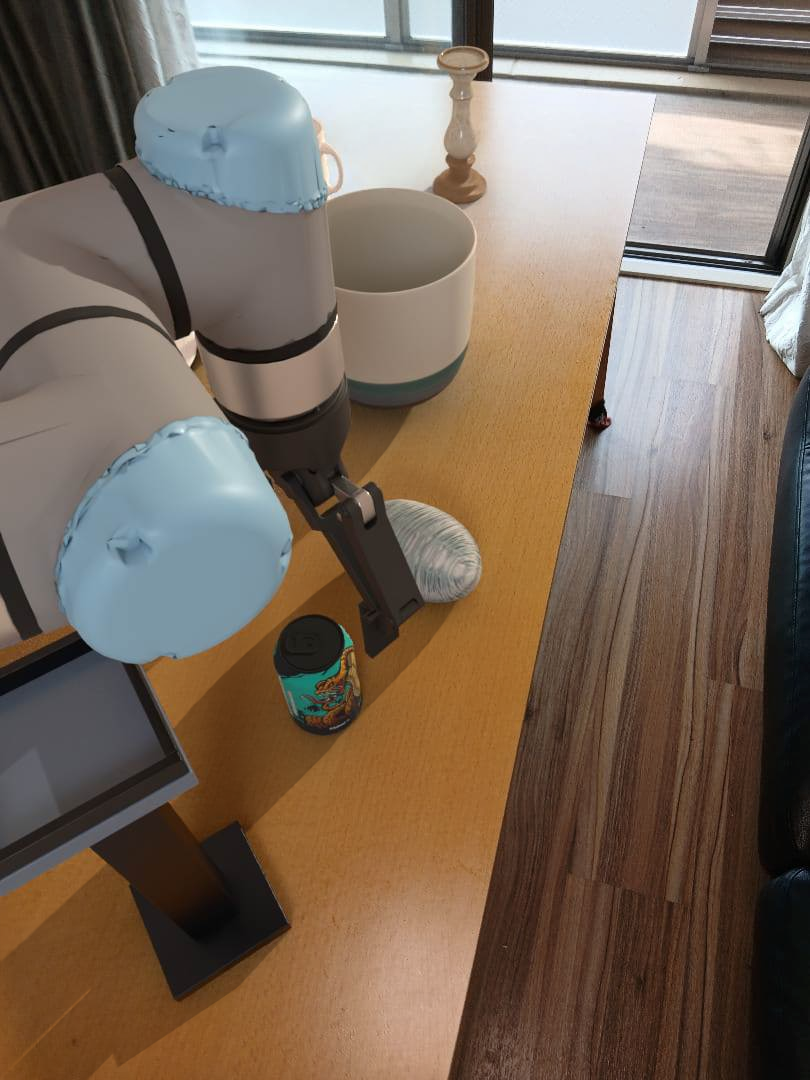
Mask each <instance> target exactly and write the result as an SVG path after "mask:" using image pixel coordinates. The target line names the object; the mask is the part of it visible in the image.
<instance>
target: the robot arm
mask: <svg viewBox="0 0 810 1080" xmlns="http://www.w3.org/2000/svg"><path fill="white" fill-rule="evenodd" d="M312 117H313V115H312V111H311V109H310V107H309V103H308V101H307V100H306V99H305V97H304V96H303V95H302V93H301V92H300V91H299V90H298V89H297V88H296V87H294V86H292V85H291V84H290V83H289V82H288V81H287V80H285V78H283V77H282V76H279V75H278V74H275V73H273V72H271V71H268V70H265V69H261V68H256V67H250V66H241V65H216V66H207V67H201V68H195V69H191V70H188V71H184V72H181V73H177V74H175V75H172V76H170V77H169V79H168V80H167V81H166V82H165V85H161V86H156V87H153V88H151V89H150V90H148V91H147V92H146V93H145V94H143V96H142V97H141V98H140V100H139V102H138V104H137V105H136V108H135V112H134V115H133V128H134V133H135V137H136V139H135V142H134V143H135V146H134V150H135V153H136V156H135V157H133V158H132V159H129V160H125V161H122V162H119V163H116V164H115V166H114V167H113V168H109V169H106V170H103V171H101V172H97V173H94V174H90V175H87V176H83V177H80V178H76V179H73V180H69V181H66V182H63V183H60V184H56V185H53V186H50V187H47V188H43V189H40V190H36V191H33V192H30V193H26V194H23V195H19V196H16V197H13V198H10V199H7V200H4V201H0V651H1V650H3V649H7V648H9V647H11V646H14V645H17V644H19V643H22V642H25V641H28V640H29V639H32V638H34V637H37V636H40V635H42V634H44V635H46V634H48V633H51V632H54V631H56V630H59V629H62V628H64V627H67V626H71V628H73V629H74V631H77V632H78V633H79V635H80V636H81V637H82V639H83V640H84V641H85V642H86V643H87V644H88V645H89V646H90V647H91V648H92V649H94V650H95V651H97V652H98V653H100V654H102V655H103V656H106V657H109V658H112V659H115V660H119V661H122V662H125V663H133V664H142V665H144V664H147V663H151V662H153V661H154V660H156V659H158V658H159V657H167V658H170V659H172V660H175V661H176V660H181V659H182V660H183V659H187V658H189V657H192V656H193V657H194V656H195V655H198V654H200V653H203V652H206V651H208V650H210V649H212V648H214V647H215V646H217V645H220V644H222V643H223V642H225V641H226V640H228V639H230V638H231V637H232V636H234V635H236V634H237V633H238V632H239V631H241V630H242V629H243V628H245V627H246V626H247V625H249V623H251V622H252V621H253V620H254V619H256V617H257V616H258V615H259V614H260V613H261V612H262V611H263V610H264V609H265V608H266V607H267V605H269V603H271V601H272V600H273V598H274V597H275V596H276V593H277V592H278V590H279V589H280V587H281V585H282V583H283V581H284V579H285V576H286V574H287V571H288V569H289V566H290V560H291V556H292V545H293V540H294V537H295V536H294V534H293V532H292V529H291V524H290V521H289V517H288V514H287V512H286V510H285V508H284V506H283V504H282V502H281V501H280V499H279V497H278V496H277V494H276V492H275V489H274V485H273V481H274V484H275V485H276V486H278V488H280V490H282V492H283V493H284V494H285V496H286V497H287V498H288V499H290V500H293V502H294V503H295V505H296V507H297V508H298V510H299V512H300V514H301V515H302V516H303V518H304V520H305V522H306V524H308V526H309V528H310V529H311V530H312V531H315V532H320V533H322V535H323V537H324V538H325V540H326V541H327V543H328V544H329V546H330V548H331V550H332V552H333V553H334V555H335V557H336V558H337V559H338V561H339V563H340V564H341V566H342V568H343V569H344V572H345V573H346V574H347V576H348V578H349V579H350V581H351V583H352V584H353V586H354V587H355V589H356V591H357V592H358V594H359V596H360V597H361V599H362V601H361V602H360V603H358V604H357V605H358V606H357V607H358V614H359V618H360V619H359V620H360V625H361V632H362V640H363V647H364V653H365V654H366V655H367V656H368V657H369V658H370V659H371V660H373V659H375V658H376V657H377V656H378V655H379V654H381V653H382V652H383V651H384V650H385V649H386V648H388V647H389V646H390V645H392V644H393V642H395V641H396V640H397V639H398V638H400V627H401V626H402V625H403V624H405V622H407V620H409V619H410V618H412V616H413V615H415V614H416V613H417V612H418V611H420V610H421V609H423V607H424V606H425V605H426V603H425V601H424V600H423V598H422V595H421V593H420V591H419V588H418V586H417V584H416V581H415V579H414V577H413V574H412V572H411V570H410V567H409V565H408V563H407V561H406V558H405V556H404V554H403V551H402V549H401V547H400V544H399V542H398V540H397V537H396V535H395V533H394V530H393V528H392V526H391V523H390V521H389V519H388V517H387V514H386V509H385V503H384V502H385V497H384V494H383V491H382V489H381V487H380V486H379V485H378V484H377V483H375V482H374V481H372V480H371V481H369V482H368V483H366V484H364V485H363V486H362V487H360V486H358V485H357V484H356V483H354V482H352V481H351V480H350V479H349V472H348V470H347V468H346V466H345V464H344V461H343V458H342V455H341V454H342V451H343V448H344V445H345V443H346V440H347V438H348V436H349V433H350V430H351V425H352V412H351V401H349V393H348V384H347V377H346V373H345V371H344V368H345V366H344V359H343V351H342V344H341V336H340V329H339V321H338V314H337V313H338V312H337V298H336V293H335V285H334V275H333V266H332V257H331V248H330V237H329V227H328V216H327V205H326V201H327V197H328V188H327V184H326V181H325V179H324V174H323V168H322V163H321V157H320V151H319V145H318V140H317V136H316V134H315V130H314V125H313V120H312ZM193 331H194V334H195V339H196V342H197V350H198V352H199V356H200V359H201V362H202V367H203V369H204V372H205V376H206V380H207V382H208V386H209V389H210V392H211V394H212V395H213V397H212V396H211V394H210V393H209V391H208V390H207V389H206V387H205V386H204V385H203V383H202V381H200V379H199V378H198V376H197V375H196V373H195V372H194V371H193V369H192V368H191V367H189V365H188V364H187V363H186V361H185V359H184V357H183V355H182V354H181V352H180V351H179V349H178V348H177V346H176V344H175V342H174V341H176V340H179V339H181V338H184V337H187V336H189V335H190V333H191V332H193ZM266 471H267V473H268V474H269V476H270V477H269V476H268V475H267V474H265V472H266ZM272 479H273V480H272ZM333 497H335V498H336V499H337V500H338V501H337V502H336V503H335V504H334V505H332V506H330V507H329V508H327V509H326V510H325V511H324V512H322V513H321V514H319V512H318V511H317V509H316V508H318V507H320V506H321V505H322V504H324V503H326V502H327V501H329V500H330V499H331V498H333Z"/></svg>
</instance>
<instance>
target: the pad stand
mask: <svg viewBox="0 0 810 1080" xmlns="http://www.w3.org/2000/svg"><path fill="white" fill-rule="evenodd" d="M199 784H200V782H199V779H198V777H197V775H196V773H195V771H194V768H193V767H192V764H191V763H190V761H189V759H188V757H187V755H186V753H185V751H184V748H183V746H182V744H181V742H180V740H179V738H178V736H177V734H176V732H175V729H174V728H173V726H172V724H171V722H170V719H169V717H168V715H167V714H166V711H165V710H164V707H163V705H162V703H161V701H160V699H159V697H158V695H157V693H156V691H155V689H154V687H153V685H152V682H151V681H150V678H149V676H148V674H147V672H146V670H145V668H144V666H143V664H133V663H125V662H122V661H119V660H115V659H112V658H109V657H106V656H103V655H102V654H100V653H98V652H97V651H95V650H94V649H92V648H91V647H90V646H89V645H88V644H87V643H86V642H85V641H84V640H83V639H82V637H81V636H80V635H79V633H78V632H77V630H74V631H73V632H70V633H68V634H66V635H64V636H62V637H60V638H59V639H56V640H54V641H52V642H50V643H48V644H46V645H44V646H42V647H40V648H38V649H36V650H34V651H32V652H30V653H27V654H26V655H24V656H22V657H19V658H18V659H16V660H13V661H12V662H10V663H7V664H6V665H3V666H2V667H0V897H1V898H3V897H5V896H7V895H9V894H11V893H12V892H14V891H15V890H17V889H18V888H20V887H22V886H24V885H25V884H27V883H30V882H31V881H32V880H34V879H36V878H38V877H40V876H42V875H43V874H45V873H47V872H48V871H50V870H52V869H53V868H56V867H57V866H59V865H61V864H62V863H64V862H65V861H67V860H70V859H71V858H72V857H75V856H76V855H78V854H80V853H81V852H83V851H85V850H87V849H88V848H90V850H92V851H93V852H94V853H95V854H96V855H98V856H99V857H100V859H102V860H103V861H104V862H105V863H106V864H108V865H109V866H110V867H111V868H112V869H113V870H114V871H115V872H117V874H119V875H120V876H121V877H122V878H123V879H124V880H125V881H127V882H128V883H129V884H128V888H129V890H130V893H131V895H132V897H133V900H134V903H135V906H136V907H137V910H138V913H139V915H140V917H141V920H142V923H143V925H144V928H145V931H146V933H147V935H148V938H149V940H150V943H151V945H152V948H153V951H154V953H155V955H156V958H157V961H158V963H159V965H160V968H161V970H162V973H163V976H164V978H165V981H166V983H167V986H168V988H169V991H170V993H171V995H172V999H173V1000H174V1001H176V1002H177V1003H181V1002H182V1001H184V1000H185V999H187V998H188V997H190V996H191V995H192V994H194V993H196V992H197V991H199V990H200V989H202V988H203V987H205V986H207V985H208V984H209V983H211V982H213V981H214V980H215V979H217V978H219V977H220V976H222V975H223V974H224V973H226V972H227V971H230V970H231V969H233V968H234V967H236V966H237V965H239V963H241V962H242V961H244V960H246V959H248V958H249V957H250V956H252V955H254V954H255V953H256V952H258V951H260V950H261V949H263V948H264V947H266V946H268V945H269V944H271V943H272V942H273V941H275V940H276V939H278V938H279V937H281V936H283V935H284V934H286V933H287V932H289V931H290V930H292V924H291V923H290V921H289V918H288V917H287V915H286V913H285V911H284V909H283V907H282V905H281V903H280V902H279V901H280V900H279V899H278V898H277V897H278V896H277V895H276V893H275V891H274V889H273V887H272V885H271V883H270V882H269V879H268V877H267V875H266V873H265V872H264V870H263V867H262V865H261V863H260V862H259V859H258V857H257V855H256V854H255V851H254V850H253V847H252V845H251V843H250V842H249V839H248V837H247V835H246V834H245V831H244V830H243V828H242V826H241V823H240V822H239V820H237V819H236V820H234V821H233V822H231V823H229V824H228V825H226V826H224V827H223V828H220V829H219V830H217V831H216V832H214V833H213V834H211V835H209V836H208V837H206V838H204V839H202V840H201V841H199V840H198V838H197V837H196V836H195V835H194V833H193V832H192V830H191V829H190V828H189V826H188V825H187V824H186V823H185V821H184V820H183V819H182V818H181V816H180V815H179V813H178V812H177V811H176V810H175V809H174V807H173V805H172V804H171V803H170V801H172V800H174V799H175V798H177V797H178V796H180V795H182V794H184V793H185V792H187V791H189V790H191V789H192V788H194V787H196V786H197V785H199Z"/></svg>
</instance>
